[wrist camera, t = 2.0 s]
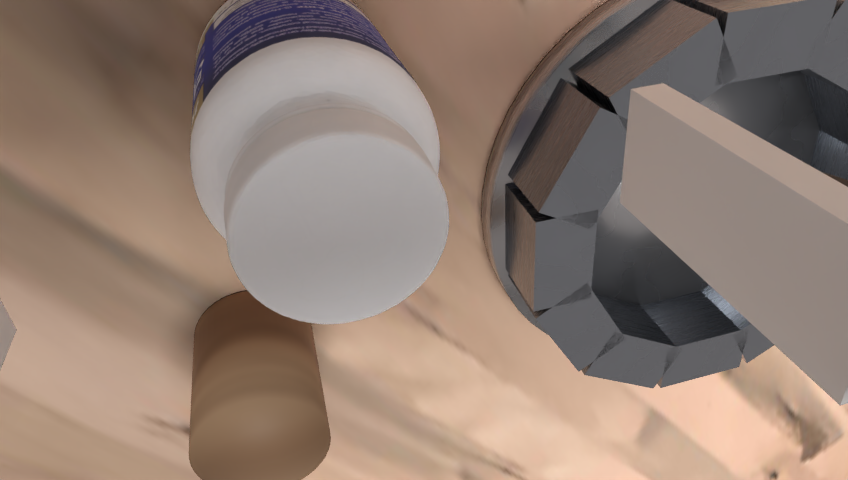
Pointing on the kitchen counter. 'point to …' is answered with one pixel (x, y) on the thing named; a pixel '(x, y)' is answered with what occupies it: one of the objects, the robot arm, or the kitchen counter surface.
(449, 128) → the kitchen counter surface
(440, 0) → the kitchen counter surface
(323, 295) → the pill bottle
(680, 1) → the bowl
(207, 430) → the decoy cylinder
